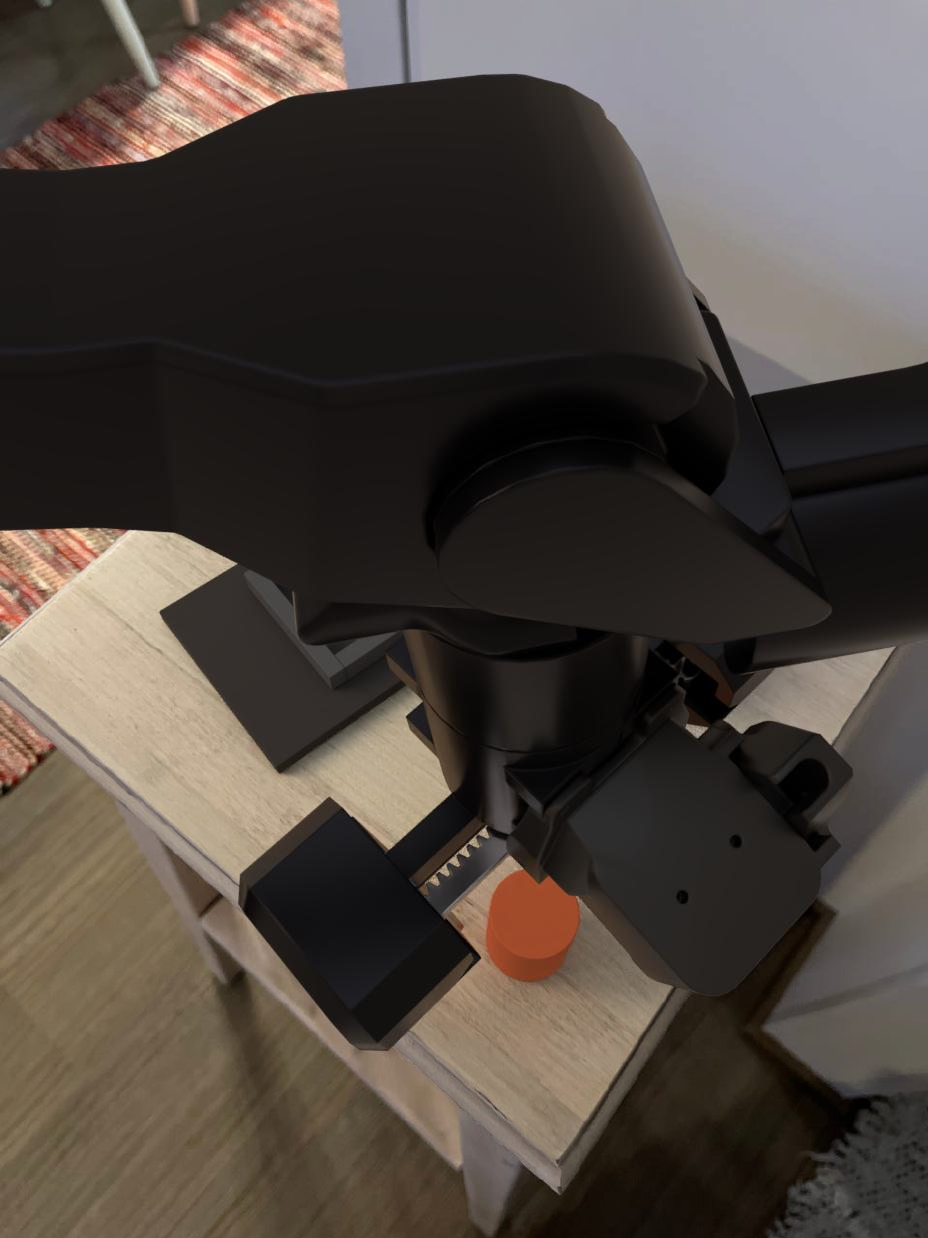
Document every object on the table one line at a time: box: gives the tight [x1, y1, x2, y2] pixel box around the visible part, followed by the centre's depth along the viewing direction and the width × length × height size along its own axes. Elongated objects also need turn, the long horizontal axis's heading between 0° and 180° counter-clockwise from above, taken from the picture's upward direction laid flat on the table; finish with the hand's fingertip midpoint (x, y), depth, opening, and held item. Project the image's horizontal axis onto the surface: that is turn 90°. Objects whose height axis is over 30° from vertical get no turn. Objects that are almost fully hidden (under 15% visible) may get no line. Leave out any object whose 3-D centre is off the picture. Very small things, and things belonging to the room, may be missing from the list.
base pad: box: [158, 563, 407, 774], centre depth 56 cm, size 14×12×2 cm
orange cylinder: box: [485, 868, 581, 982], centre depth 46 cm, size 4×4×5 cm
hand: (538, 836), depth 38 cm, fingers open, 9 cm apart
